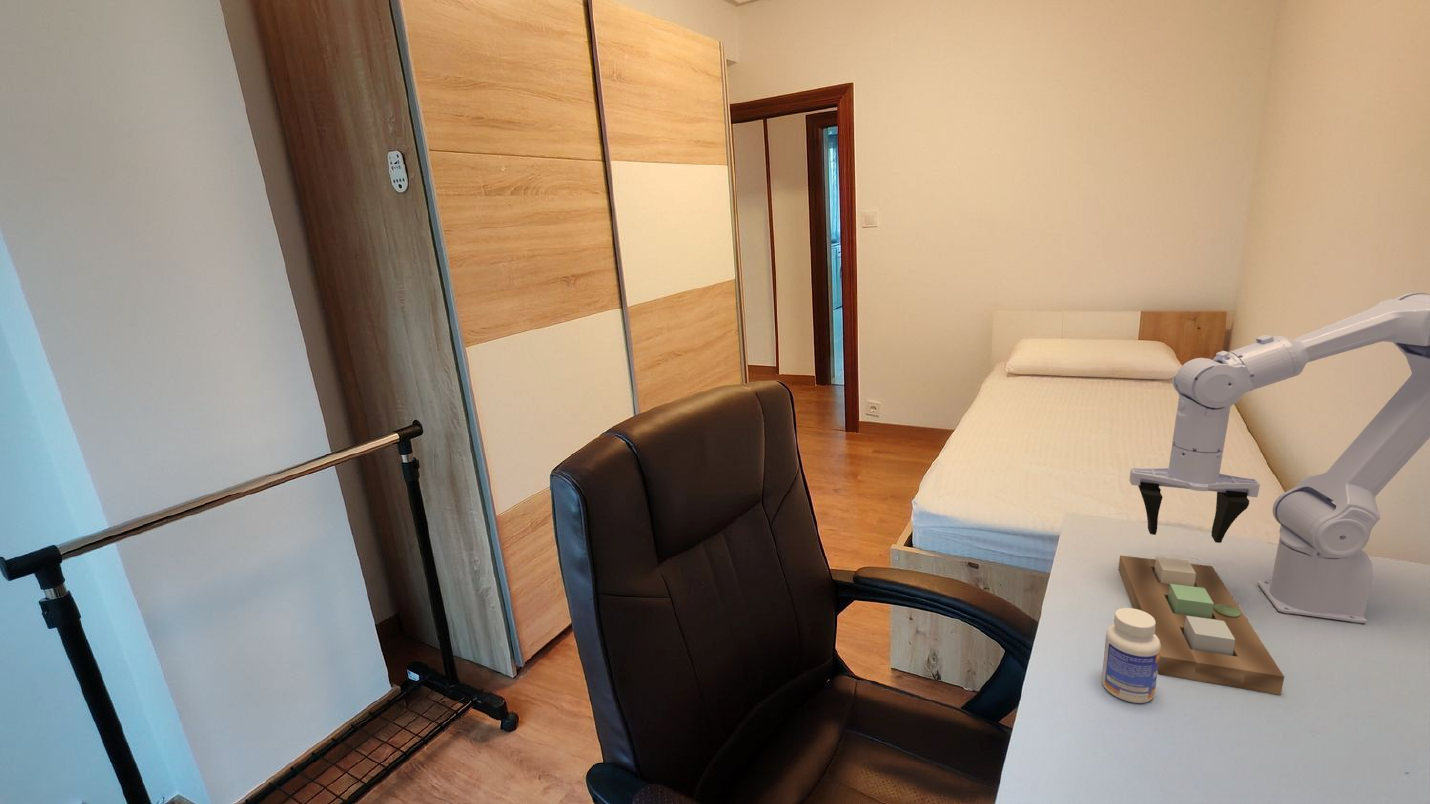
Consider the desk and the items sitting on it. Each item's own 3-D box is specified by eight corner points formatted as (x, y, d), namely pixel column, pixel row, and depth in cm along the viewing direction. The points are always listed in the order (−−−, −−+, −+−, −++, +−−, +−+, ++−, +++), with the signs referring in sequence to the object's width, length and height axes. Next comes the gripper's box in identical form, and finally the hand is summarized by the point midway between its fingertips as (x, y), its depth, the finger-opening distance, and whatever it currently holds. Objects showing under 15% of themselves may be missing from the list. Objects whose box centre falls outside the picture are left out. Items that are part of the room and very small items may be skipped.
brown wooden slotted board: (1209, 581, 98) (1212, 564, 97) (1280, 695, 75) (1284, 674, 74) (1118, 569, 102) (1120, 553, 102) (1158, 674, 79) (1161, 654, 78)
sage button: (1201, 607, 89) (1204, 588, 88) (1210, 623, 86) (1214, 603, 85) (1167, 602, 91) (1169, 583, 90) (1174, 618, 87) (1177, 599, 86)
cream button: (1185, 578, 96) (1188, 560, 95) (1193, 592, 93) (1196, 573, 92) (1153, 574, 98) (1156, 556, 97) (1160, 587, 94) (1162, 569, 93)
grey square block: (1220, 641, 82) (1224, 621, 81) (1231, 661, 78) (1235, 639, 78) (1183, 636, 83) (1186, 615, 83) (1191, 654, 80) (1195, 633, 79)
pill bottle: (1162, 707, 74) (1173, 633, 71) (1110, 702, 75) (1119, 629, 72) (1142, 675, 79) (1152, 605, 76) (1093, 671, 80) (1101, 602, 78)
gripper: (1140, 450, 88) (1128, 540, 92) (1274, 461, 82) (1255, 556, 86) (1132, 434, 94) (1121, 519, 98) (1255, 443, 89) (1239, 533, 92)
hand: (1183, 535), depth 92 cm, fingers open, 7 cm apart
